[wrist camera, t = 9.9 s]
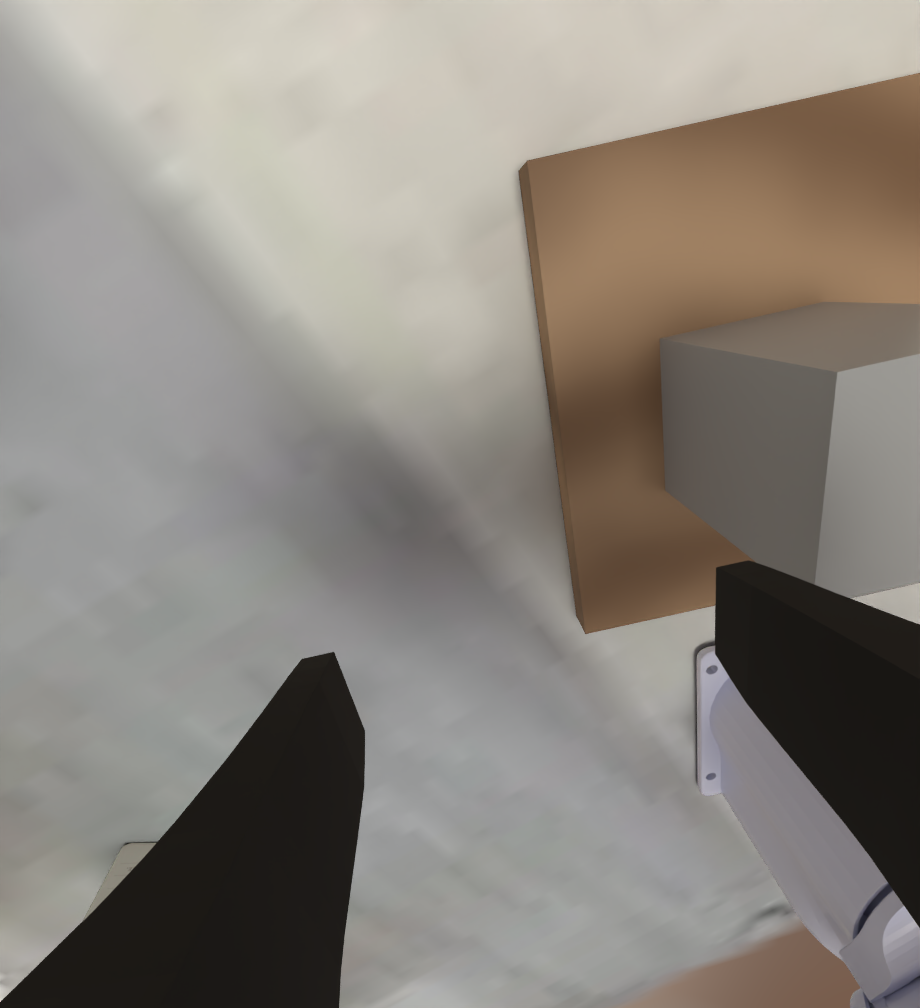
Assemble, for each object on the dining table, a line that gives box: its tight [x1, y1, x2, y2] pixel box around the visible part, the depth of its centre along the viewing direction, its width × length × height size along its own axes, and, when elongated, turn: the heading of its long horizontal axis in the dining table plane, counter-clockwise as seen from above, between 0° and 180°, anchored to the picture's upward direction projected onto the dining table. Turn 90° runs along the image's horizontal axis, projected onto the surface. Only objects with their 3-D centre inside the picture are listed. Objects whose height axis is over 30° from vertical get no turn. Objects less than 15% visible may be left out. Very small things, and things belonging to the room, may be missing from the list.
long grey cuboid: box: [660, 302, 920, 598], centre depth 13 cm, size 5×5×7 cm
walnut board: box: [519, 73, 920, 634], centre depth 17 cm, size 16×12×1 cm
